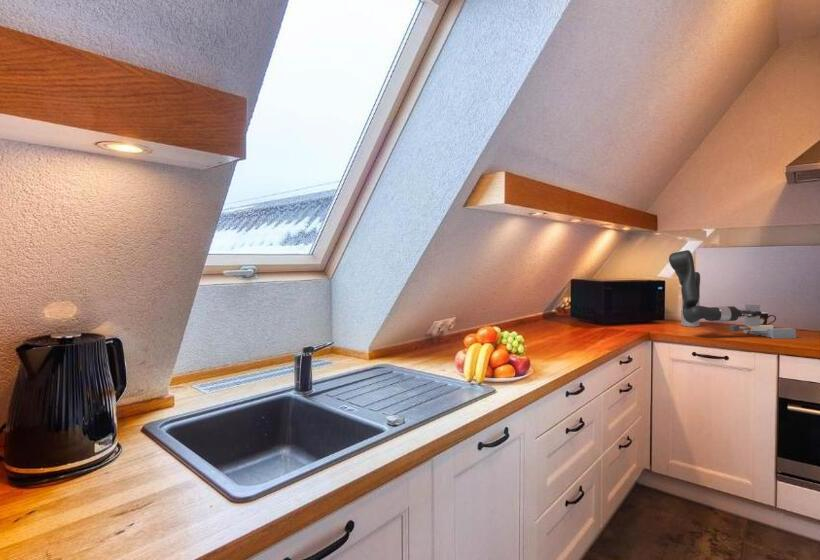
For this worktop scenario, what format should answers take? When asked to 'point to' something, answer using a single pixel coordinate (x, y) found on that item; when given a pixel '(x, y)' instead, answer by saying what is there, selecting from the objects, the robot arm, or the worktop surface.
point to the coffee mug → (765, 318)
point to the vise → (775, 333)
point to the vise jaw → (751, 328)
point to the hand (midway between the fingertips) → (757, 313)
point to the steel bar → (752, 320)
